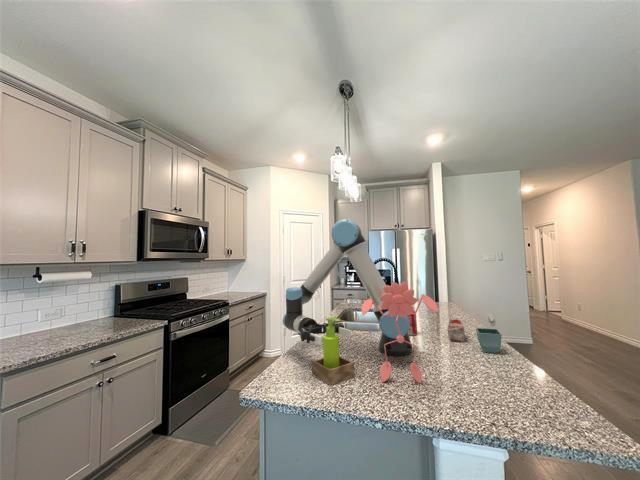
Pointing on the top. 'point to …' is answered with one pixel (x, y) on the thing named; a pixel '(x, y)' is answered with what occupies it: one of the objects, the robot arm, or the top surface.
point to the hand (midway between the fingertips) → (336, 337)
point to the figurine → (400, 303)
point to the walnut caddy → (333, 371)
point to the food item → (456, 330)
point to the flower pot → (489, 339)
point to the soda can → (412, 324)
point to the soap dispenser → (331, 346)
